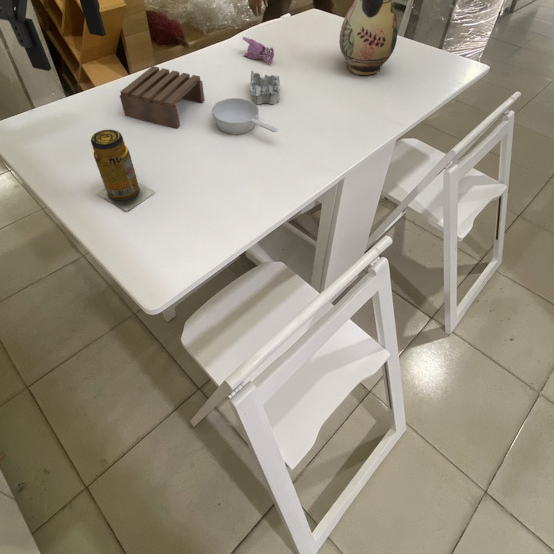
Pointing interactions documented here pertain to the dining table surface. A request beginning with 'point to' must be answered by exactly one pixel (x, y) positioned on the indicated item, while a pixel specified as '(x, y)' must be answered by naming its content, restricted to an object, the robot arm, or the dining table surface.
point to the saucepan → (237, 116)
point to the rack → (160, 95)
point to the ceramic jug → (368, 35)
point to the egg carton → (264, 88)
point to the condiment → (117, 171)
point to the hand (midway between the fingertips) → (72, 50)
